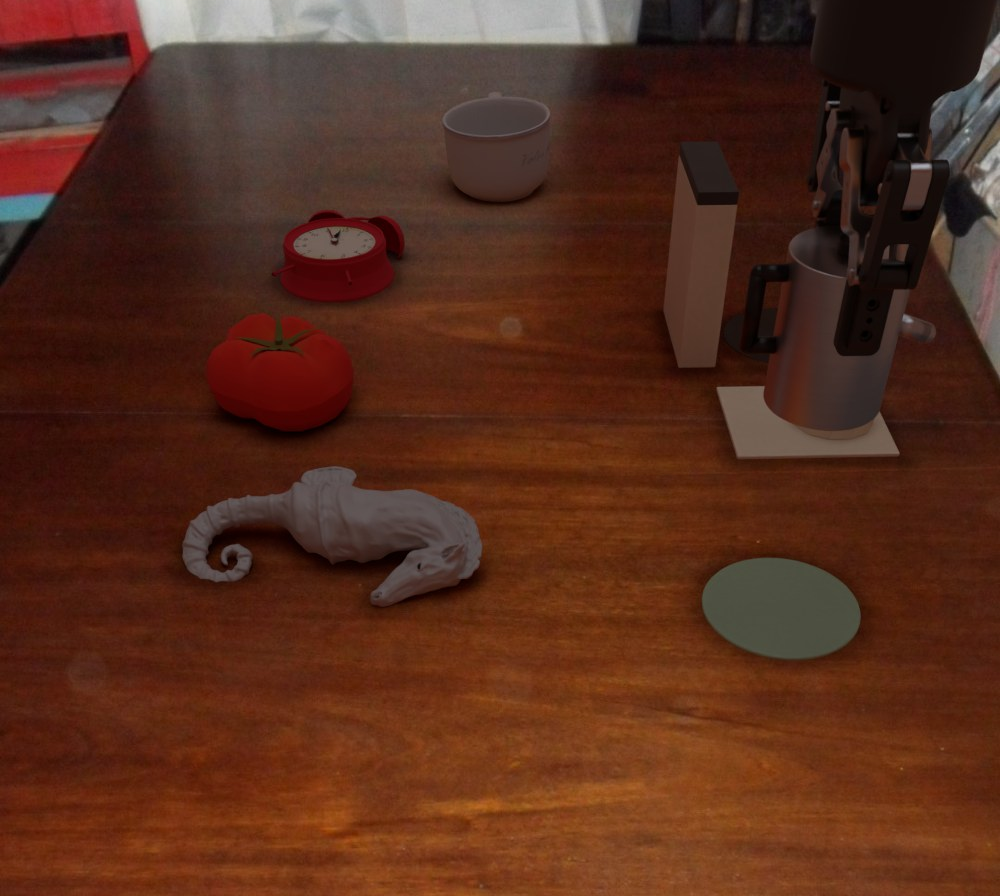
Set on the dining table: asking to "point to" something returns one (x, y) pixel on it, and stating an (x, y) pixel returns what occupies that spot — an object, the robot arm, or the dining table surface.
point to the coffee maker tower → (699, 252)
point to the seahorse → (349, 532)
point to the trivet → (781, 609)
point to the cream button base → (794, 432)
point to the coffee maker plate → (766, 329)
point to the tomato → (281, 373)
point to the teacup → (498, 146)
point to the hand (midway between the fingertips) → (839, 319)
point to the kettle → (820, 337)
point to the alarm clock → (340, 257)
